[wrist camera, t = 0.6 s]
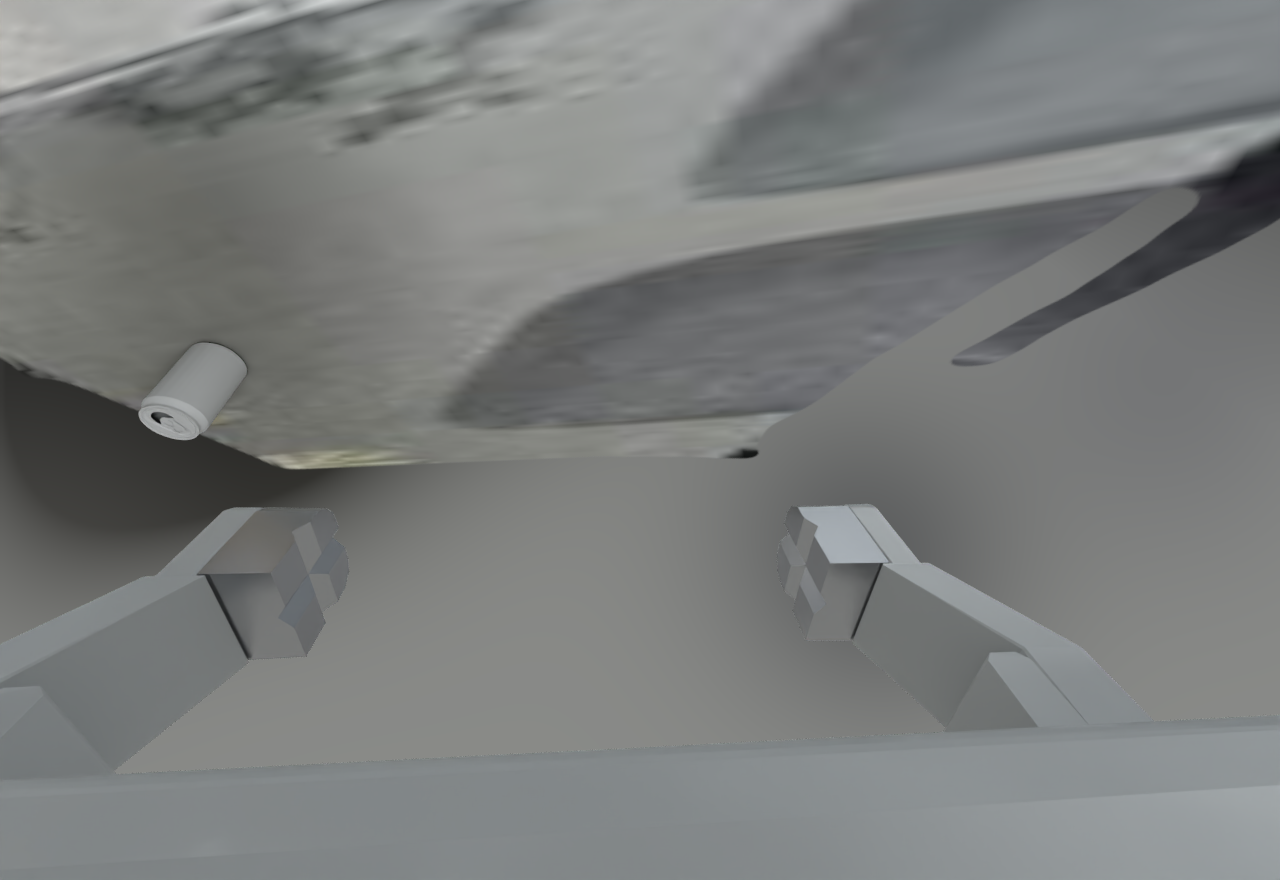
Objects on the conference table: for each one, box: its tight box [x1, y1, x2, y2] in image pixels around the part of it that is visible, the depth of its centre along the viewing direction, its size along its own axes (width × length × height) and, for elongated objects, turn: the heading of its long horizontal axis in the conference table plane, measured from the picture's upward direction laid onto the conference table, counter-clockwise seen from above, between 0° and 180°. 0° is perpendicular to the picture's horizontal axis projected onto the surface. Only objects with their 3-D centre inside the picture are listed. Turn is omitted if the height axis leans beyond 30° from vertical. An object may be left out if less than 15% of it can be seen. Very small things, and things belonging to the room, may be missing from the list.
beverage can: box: [139, 343, 247, 440], centre depth 62 cm, size 6×6×12 cm
